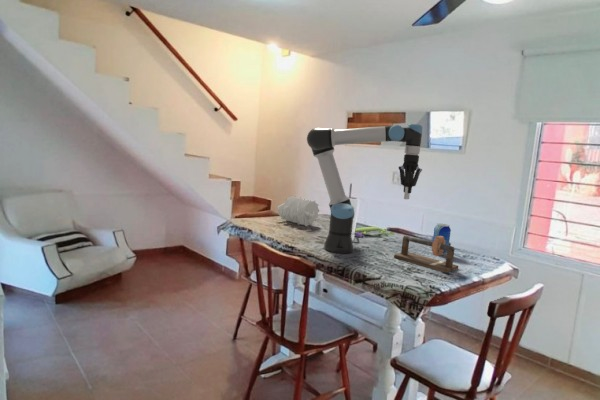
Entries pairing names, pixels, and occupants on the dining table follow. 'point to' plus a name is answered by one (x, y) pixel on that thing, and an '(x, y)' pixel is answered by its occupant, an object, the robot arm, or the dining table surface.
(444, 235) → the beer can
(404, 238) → the pipe stand
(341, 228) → the robot arm
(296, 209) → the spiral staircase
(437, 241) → the ring
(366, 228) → the figurine
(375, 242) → the dining table surface
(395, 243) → the dining table surface
